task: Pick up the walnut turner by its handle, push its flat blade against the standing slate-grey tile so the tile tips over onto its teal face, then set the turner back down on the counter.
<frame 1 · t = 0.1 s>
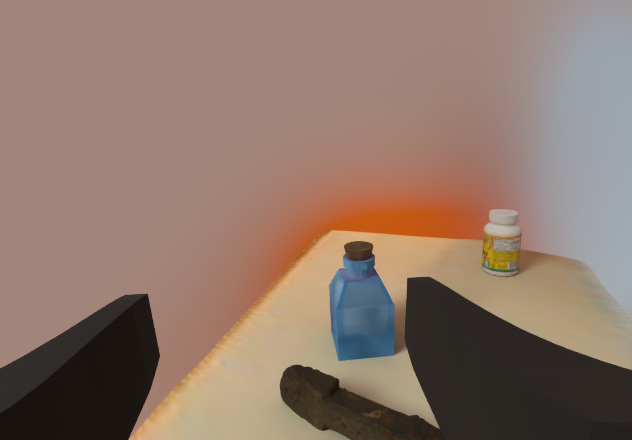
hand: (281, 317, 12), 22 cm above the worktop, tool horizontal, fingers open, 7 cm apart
perfume bottle: (361, 344, 48), on the worktop
supplement bottle: (499, 271, 66), on the worktop
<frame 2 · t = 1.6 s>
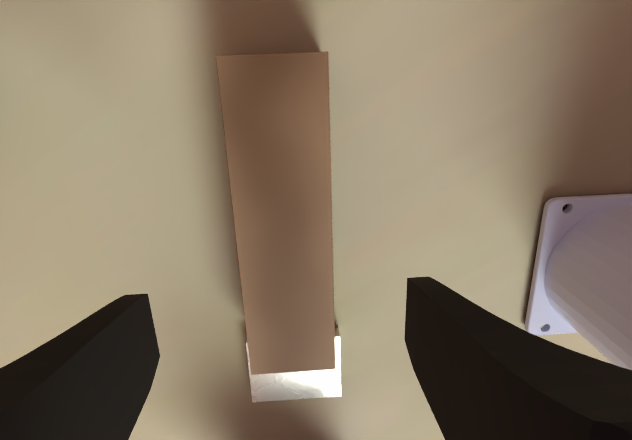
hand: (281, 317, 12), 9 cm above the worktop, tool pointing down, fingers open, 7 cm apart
turner: (285, 208, 20), on the worktop
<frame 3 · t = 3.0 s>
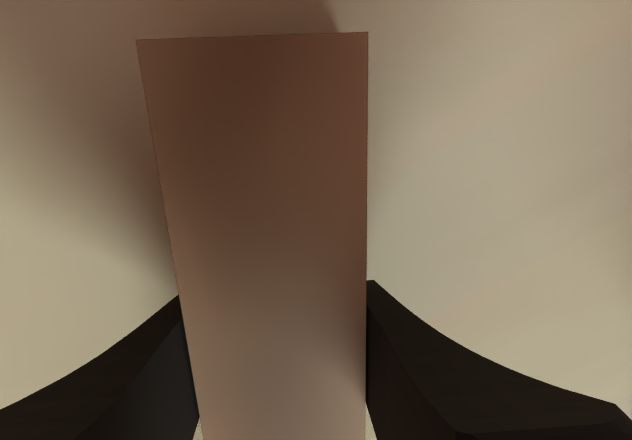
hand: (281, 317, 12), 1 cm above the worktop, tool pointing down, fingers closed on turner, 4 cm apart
turner: (282, 290, 13), on the worktop, touching gripper
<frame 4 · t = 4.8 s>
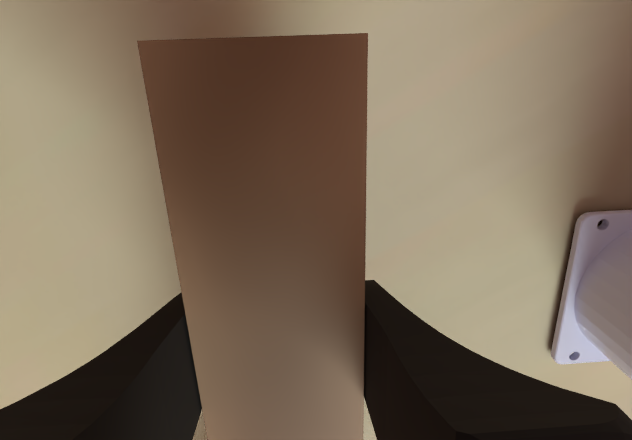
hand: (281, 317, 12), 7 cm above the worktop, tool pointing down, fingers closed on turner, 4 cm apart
turner: (281, 284, 13), point 5 cm above the worktop, touching gripper
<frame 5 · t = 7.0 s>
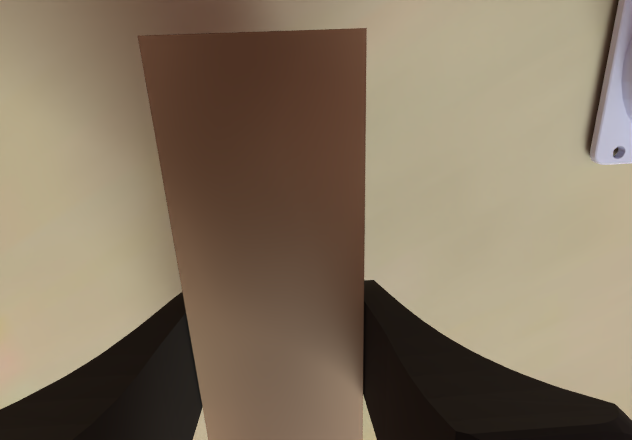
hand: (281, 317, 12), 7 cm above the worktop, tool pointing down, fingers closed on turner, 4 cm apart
turner: (282, 281, 13), point 5 cm above the worktop, touching gripper
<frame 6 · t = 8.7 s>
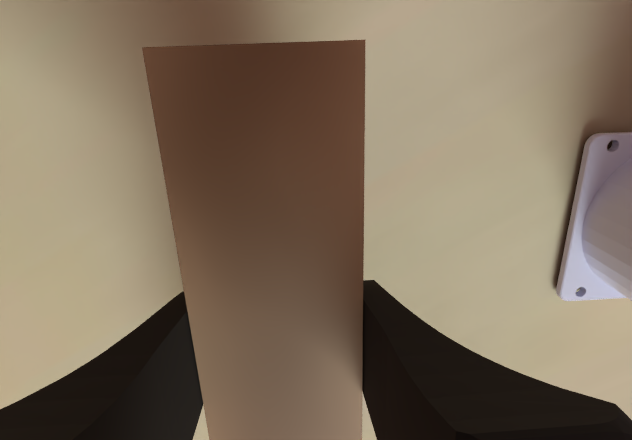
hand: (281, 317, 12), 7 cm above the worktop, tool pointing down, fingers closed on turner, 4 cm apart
turner: (282, 285, 13), point 5 cm above the worktop, touching gripper
when the fingers open (3 cm above the worktop, at t = 10.2 s): turner drops 1 cm, on the worktop.
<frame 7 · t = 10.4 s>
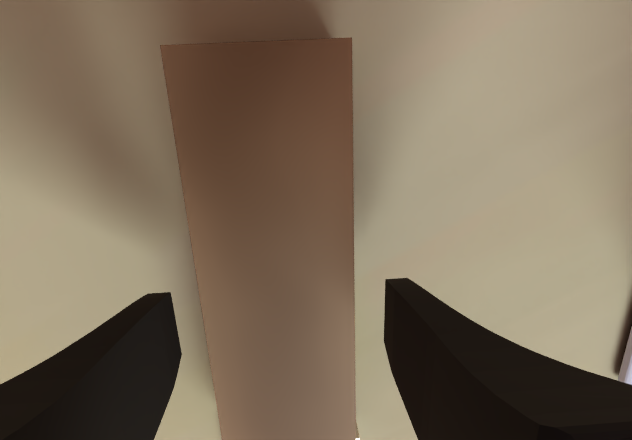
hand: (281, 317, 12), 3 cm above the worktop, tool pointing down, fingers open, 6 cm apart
turner: (282, 267, 14), on the worktop
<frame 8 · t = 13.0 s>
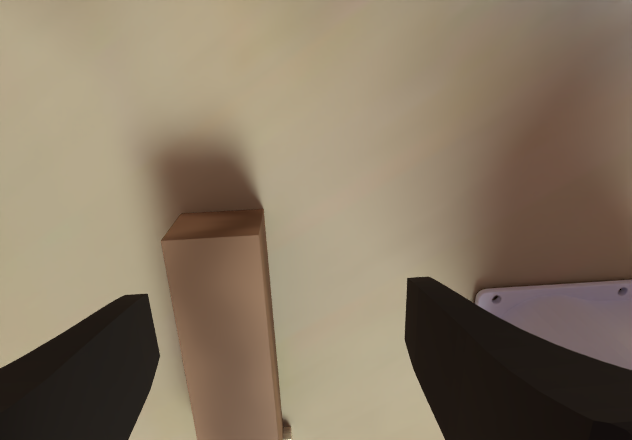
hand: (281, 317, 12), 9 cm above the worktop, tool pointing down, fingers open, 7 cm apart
turner: (237, 331, 23), on the worktop
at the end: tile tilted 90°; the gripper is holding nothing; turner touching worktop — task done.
